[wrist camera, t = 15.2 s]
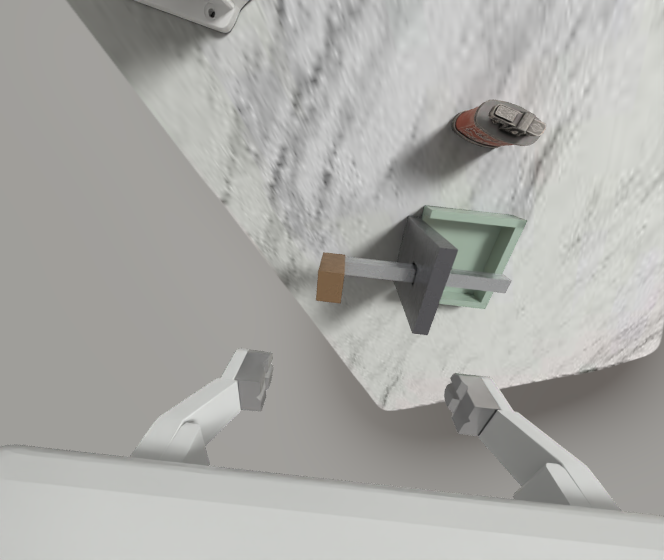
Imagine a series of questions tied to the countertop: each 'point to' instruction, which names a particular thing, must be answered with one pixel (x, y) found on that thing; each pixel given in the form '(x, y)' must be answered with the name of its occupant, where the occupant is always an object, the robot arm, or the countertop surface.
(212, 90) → the countertop surface
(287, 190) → the countertop surface
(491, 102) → the lighter
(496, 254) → the tray
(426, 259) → the bearing plate
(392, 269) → the shaft
